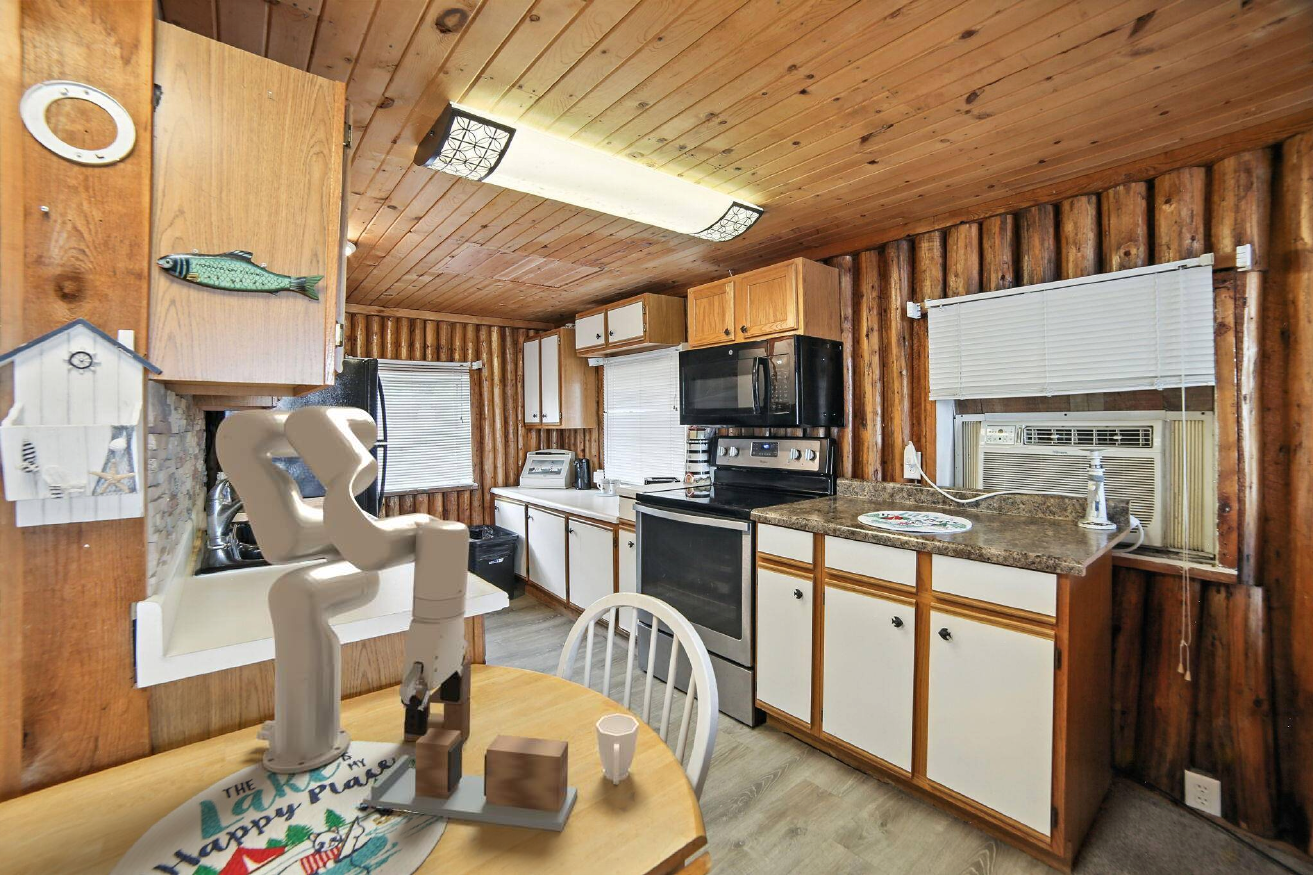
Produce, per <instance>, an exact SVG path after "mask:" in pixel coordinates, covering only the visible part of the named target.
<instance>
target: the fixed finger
mask: <svg viewBox="0 0 1313 875" xmlns="http://www.w3.org/2000/svg"><path fill="white" fill-rule="evenodd" d="M483 760H484V761H483V762H484V763H483V764H484V765H483V766H484V767H483V768H484V771H483V772H484V774H483V777H484V796H486V804H491V805H500V806H508V807H517V808H525V809H534V810H542V811H550V812H559V811H560V809H561V807H562V805H563V803H564V801H565V799H566V796H567V786H568V784H569V783H568V777H569V775H568V772H569V771H568V770H569V741H567V740H566V741H564V740H556V739H555V740H554V739H546V738H536V737H525V736H517V735H508V734H507V735H505V734H497V735H496V736H495V738H494V739H493V740H492V742H491V743H490V744H489V745H488V747H487V748H486V752H485V754H484V759H483Z"/></svg>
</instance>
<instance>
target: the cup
mask: <svg viewBox="0 0 1313 875" xmlns="http://www.w3.org/2000/svg"><path fill="white" fill-rule="evenodd" d="M639 726H640V724H639V722H638V721H637V720H636V718H634V716H631V715H629V714H623V713H613V714H609V715H603V716H602V717H601V718H600V719H599V720H598V721H597V722H596V723H595V728H596V729H595V730H596V736H597V742H598V751H599V757H600V762H601V766H602V767H603V771H602V774H603V775H604V777H605V778H606V780H610V781H612V782H613V785H619V782H620V781H623V780H626V779H627V778H629V775H630V774H631V770H630V767H631V766H632V762H633V759H634V756H635V753H636V752H635V751H636V744H637V737H638V733H639Z"/></svg>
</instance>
